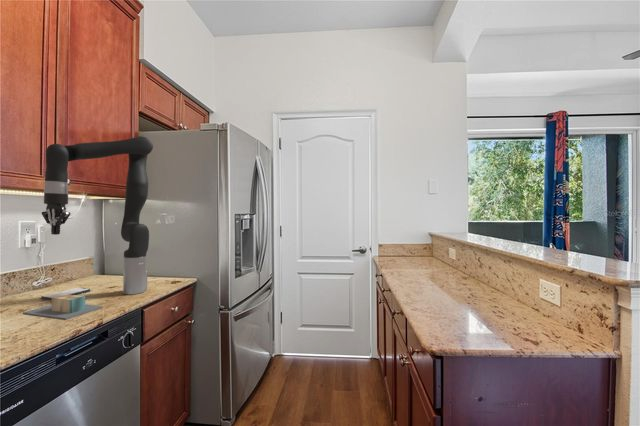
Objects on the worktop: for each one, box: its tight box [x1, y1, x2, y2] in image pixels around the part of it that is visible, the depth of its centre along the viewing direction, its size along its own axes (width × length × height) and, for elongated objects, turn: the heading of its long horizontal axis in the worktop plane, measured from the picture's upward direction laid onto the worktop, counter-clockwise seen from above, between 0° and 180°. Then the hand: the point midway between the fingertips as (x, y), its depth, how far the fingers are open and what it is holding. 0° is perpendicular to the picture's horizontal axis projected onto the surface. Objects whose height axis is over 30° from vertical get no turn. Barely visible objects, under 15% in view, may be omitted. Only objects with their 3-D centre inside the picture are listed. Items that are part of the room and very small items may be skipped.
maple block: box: [51, 294, 86, 313], centre depth 115 cm, size 5×5×10 cm
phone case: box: [40, 287, 91, 301], centre depth 136 cm, size 9×2×16 cm
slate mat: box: [22, 303, 104, 320], centre depth 115 cm, size 14×21×1 cm, turn 77°
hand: (55, 234), depth 123 cm, fingers closed
